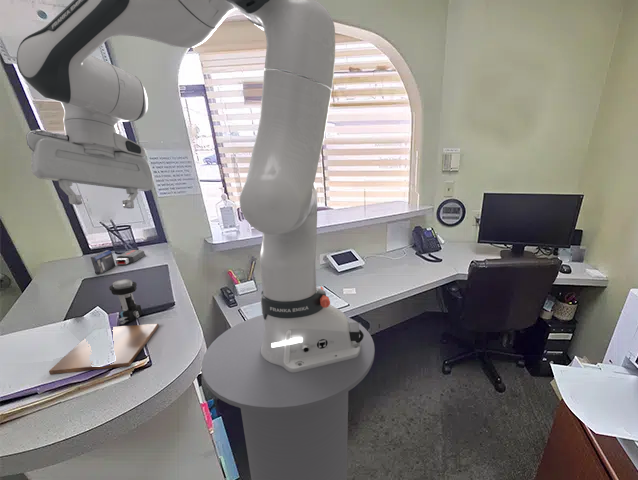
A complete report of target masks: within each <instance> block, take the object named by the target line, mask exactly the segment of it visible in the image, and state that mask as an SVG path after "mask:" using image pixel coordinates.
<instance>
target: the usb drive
mask: <svg viewBox="0 0 638 480" xmlns="http://www.w3.org/2000/svg"><path fill="white" fill-rule="evenodd" d="M145 253H146V252H145V250H143V249H129V250H127V251H125V252H123V253H121V254H119V255H117V256H116V259H115V260H114V262H115V265H127V264H132V263H135V262H137V261H138V260H140V259H141V258H143V257H145V256H146V254H145Z"/></svg>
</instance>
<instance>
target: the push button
mask: <svg viewBox="0 0 638 480" xmlns="http://www.w3.org/2000/svg"><path fill="white" fill-rule="evenodd" d="M137 286H138V282H135V281H132V280H131V279H128V278H124V279H117V280H115V281H113V282H112V285H110V286H109V287H108V289H109V291H110V292H111V294H112V295H114V296H117V297H118V299H119V301H120V305H121V306H120V309H121V312H120V313H119V315H120V319H119V321H120V325H124V324H125V323H131V322H133V321H134V320H135V319H138V318H139V317H140V316H141V315H143V310H142V306H141V304H137V303H136V302H135V298H134V295H133V294H134V292H136V291H137V289H138V287H137Z"/></svg>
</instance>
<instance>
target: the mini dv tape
mask: <svg viewBox="0 0 638 480" xmlns="http://www.w3.org/2000/svg"><path fill="white" fill-rule="evenodd" d="M90 260H91V264H92V267H93V270H94V273H95V274H96V275H102V274H103V273H105V272H107V271H109V270H111V269H113V268H115V267H116V261H115V260H114V255H113V252H112V250H111V249H106V250H103V251H101V252H99V253H96V254H94V255H92V256H90Z"/></svg>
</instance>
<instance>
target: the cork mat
mask: <svg viewBox="0 0 638 480" xmlns="http://www.w3.org/2000/svg"><path fill="white" fill-rule="evenodd" d="M159 326H160V325H159V323H147V324H135V325H134V324H133V325H121V326H112V327H113V330H112V331H113V341H114V351H115V355H116V361H115V362H114V363H112V364H110V365H109V366H105V367H92V366H91V365H94V364H91V363H93V361H91V362H90V360H89V359H90V358H89V357H90V356H89V355H91V354H92V353H91V352H92V350H91V346H90V344H88V341H87V342H86V339H85V337H84V338H83V339H84V340H83V339H82V340H81V341H80V342H78V344H76V345H75V346H74V347H73V348H72V349H71V350H70V351H69V352H68V353H66V354H65V355H64V356H63V357H62V358H61V359H60V360H59V361H58V362H57V363H55V365H53V367H51V368H50V369H49V370H48V373H49V375H56V374H58V375H59V374H67V373H76V372H84V371H86V372H87V371H96V370H105V369H114V368H124V367H130V366H131V364H132V363H134V361H135V359H136V358H137V356H138V355H139V354H140V353H141V352H142V350H143V348H144V347H145V346H146V345H147V343H148V342H149V340H151V338H152V336H153V335H154V333H155V332H156V331H157V330H158V328H159ZM88 346H89V347H88ZM90 351H91V352H90Z"/></svg>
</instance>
